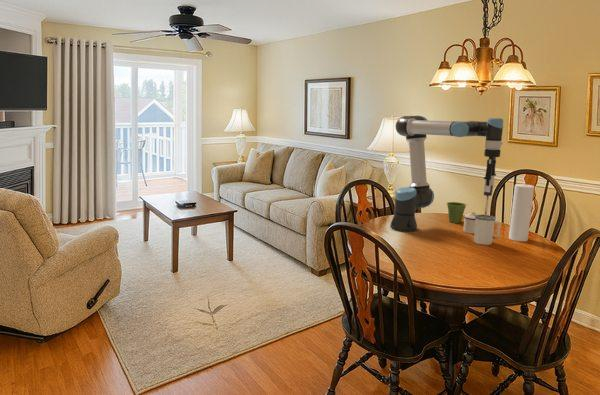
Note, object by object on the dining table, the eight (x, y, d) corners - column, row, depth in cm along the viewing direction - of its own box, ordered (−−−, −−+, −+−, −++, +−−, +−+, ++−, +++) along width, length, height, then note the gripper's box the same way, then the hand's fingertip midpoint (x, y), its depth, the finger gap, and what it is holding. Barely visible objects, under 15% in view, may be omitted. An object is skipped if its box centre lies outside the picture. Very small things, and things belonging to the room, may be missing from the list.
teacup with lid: (481, 234, 260) (483, 214, 258) (464, 233, 262) (466, 213, 260) (476, 229, 272) (478, 209, 270) (460, 228, 274) (462, 208, 271)
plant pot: (468, 222, 288) (470, 204, 286) (459, 225, 280) (460, 206, 278) (451, 218, 296) (452, 201, 294) (441, 221, 288) (442, 203, 286)
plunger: (478, 223, 243) (481, 185, 239) (479, 220, 248) (483, 184, 244) (490, 224, 240) (494, 186, 236) (491, 222, 245) (495, 185, 241)
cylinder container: (528, 238, 255) (535, 184, 249) (526, 242, 247) (533, 187, 241) (509, 235, 260) (516, 182, 254) (507, 239, 252) (513, 185, 246)
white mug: (472, 242, 245) (474, 217, 242) (474, 238, 253) (477, 213, 250) (497, 246, 239) (499, 220, 236) (499, 242, 247) (501, 216, 244)
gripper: (498, 151, 224) (493, 194, 228) (503, 147, 245) (499, 187, 249) (481, 150, 227) (477, 193, 231) (487, 146, 249) (484, 185, 253)
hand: (488, 190), depth 240 cm, fingers open, 13 cm apart
